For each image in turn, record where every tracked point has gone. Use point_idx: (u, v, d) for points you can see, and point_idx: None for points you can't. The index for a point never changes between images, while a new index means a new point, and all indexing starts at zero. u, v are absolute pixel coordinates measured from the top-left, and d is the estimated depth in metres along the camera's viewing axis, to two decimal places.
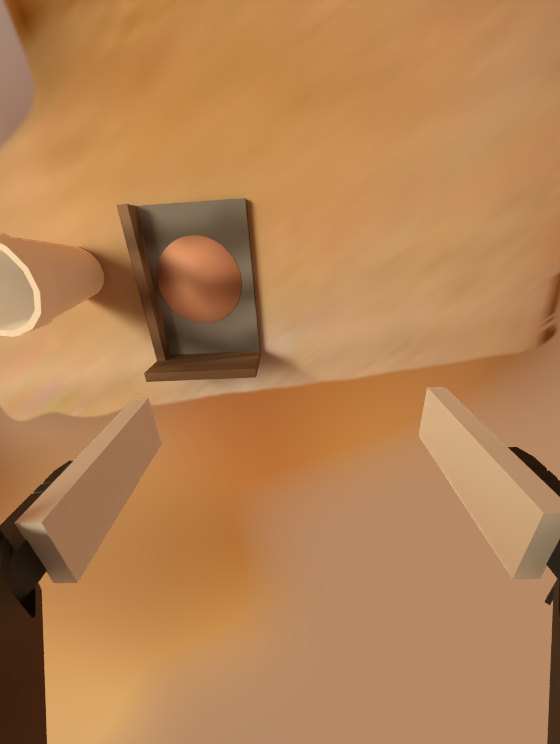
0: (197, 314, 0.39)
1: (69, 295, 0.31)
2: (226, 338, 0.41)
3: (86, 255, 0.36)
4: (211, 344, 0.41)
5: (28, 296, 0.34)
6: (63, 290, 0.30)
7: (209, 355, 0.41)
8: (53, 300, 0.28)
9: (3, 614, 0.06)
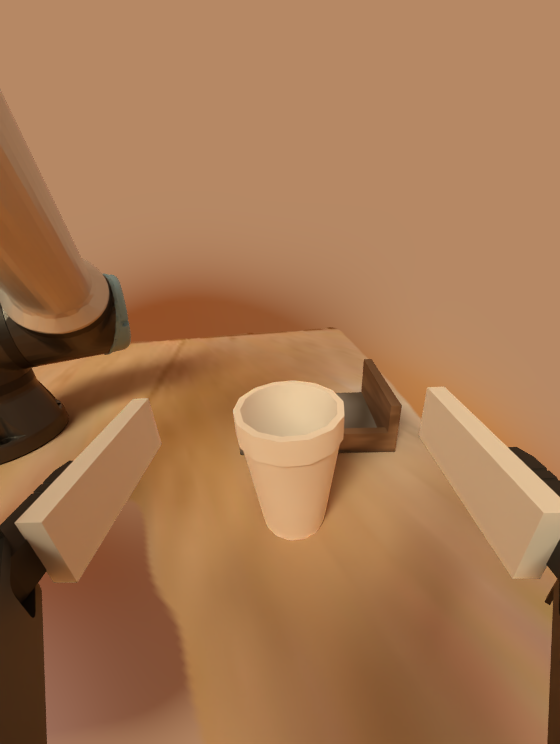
0: None
1: None
2: (354, 406, 0.46)
3: None
4: (363, 414, 0.44)
5: None
6: None
7: (372, 409, 0.43)
8: None
9: (3, 614, 0.06)
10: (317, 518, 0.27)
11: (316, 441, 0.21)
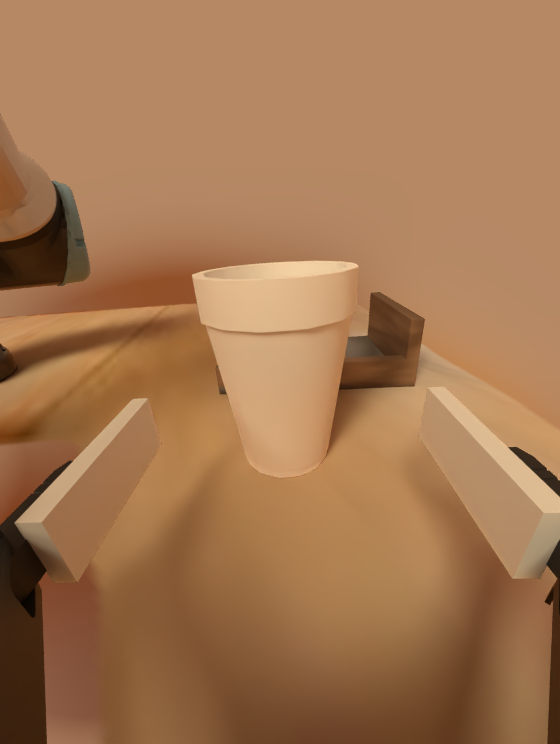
0: None
1: None
2: (360, 347, 0.38)
3: None
4: (371, 353, 0.36)
5: None
6: None
7: (382, 345, 0.35)
8: None
9: (3, 614, 0.06)
10: (318, 444, 0.19)
11: (316, 285, 0.13)
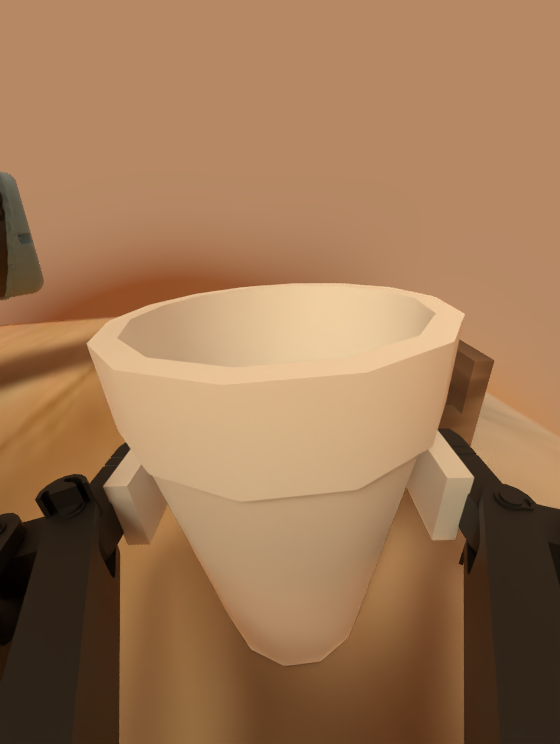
0: None
1: None
2: None
3: None
4: None
5: None
6: None
7: None
8: None
9: (93, 572, 0.07)
10: (353, 615, 0.10)
11: (393, 387, 0.05)
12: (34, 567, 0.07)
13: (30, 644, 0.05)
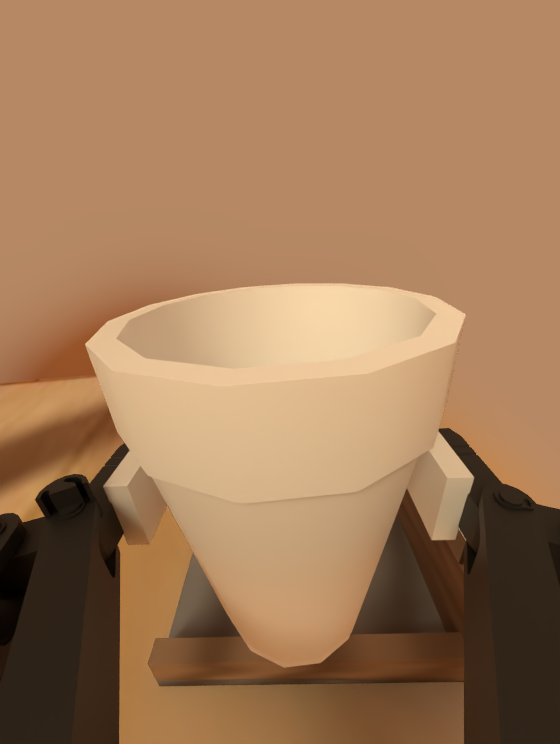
0: None
1: None
2: None
3: None
4: (398, 555, 0.24)
5: None
6: None
7: (416, 548, 0.24)
8: None
9: (93, 572, 0.07)
10: (354, 617, 0.10)
11: (393, 388, 0.05)
12: (35, 568, 0.07)
13: (30, 644, 0.05)
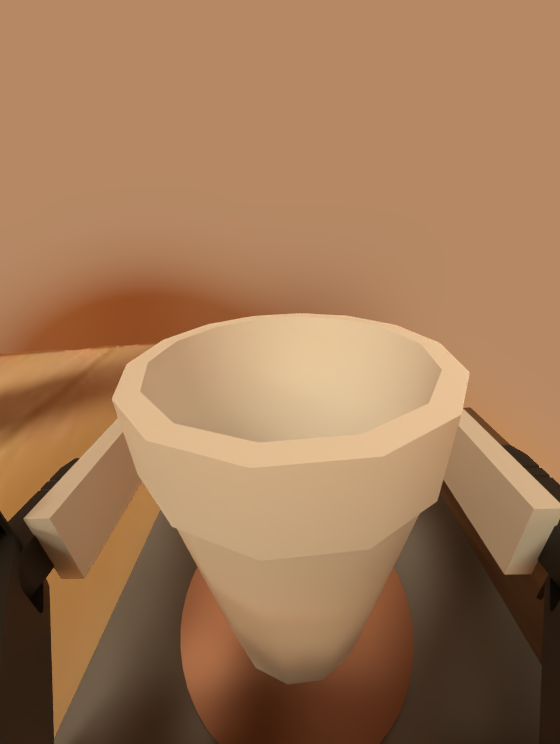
0: (386, 617, 0.13)
1: None
2: (432, 545, 0.16)
3: None
4: (471, 590, 0.14)
5: None
6: None
7: (505, 581, 0.14)
8: None
9: (12, 609, 0.06)
10: (355, 638, 0.11)
11: (405, 462, 0.05)
12: None
13: None
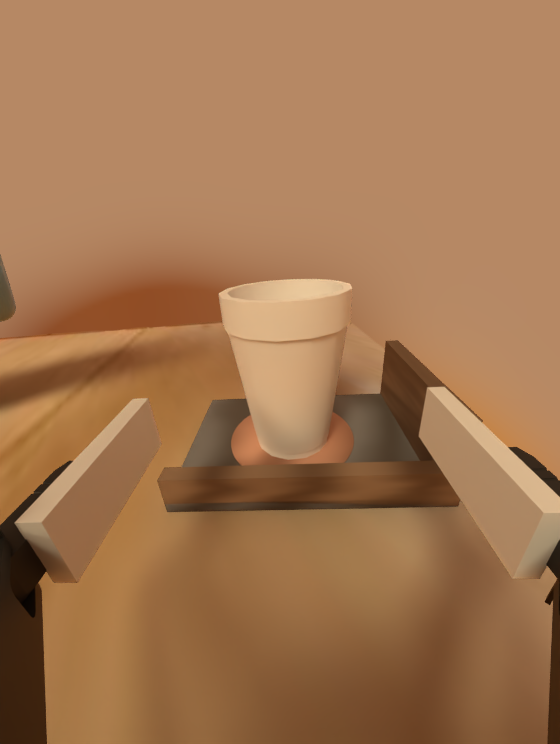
0: (340, 440, 0.25)
1: None
2: (372, 417, 0.28)
3: None
4: (388, 431, 0.26)
5: None
6: None
7: (404, 422, 0.25)
8: None
9: (3, 614, 0.06)
10: (320, 431, 0.23)
11: (319, 305, 0.17)
12: None
13: None
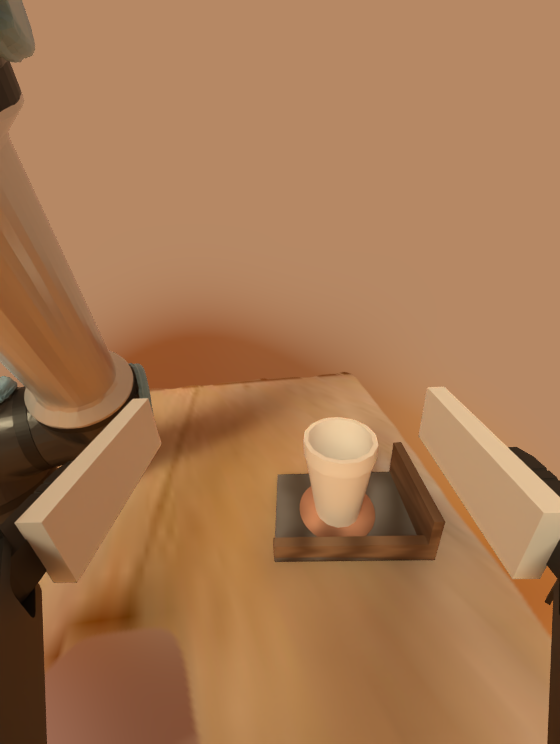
0: (367, 513, 0.42)
1: None
2: (385, 493, 0.45)
3: None
4: (395, 506, 0.43)
5: None
6: None
7: (405, 501, 0.42)
8: None
9: (3, 614, 0.06)
10: (357, 512, 0.39)
11: (363, 463, 0.34)
12: None
13: None
